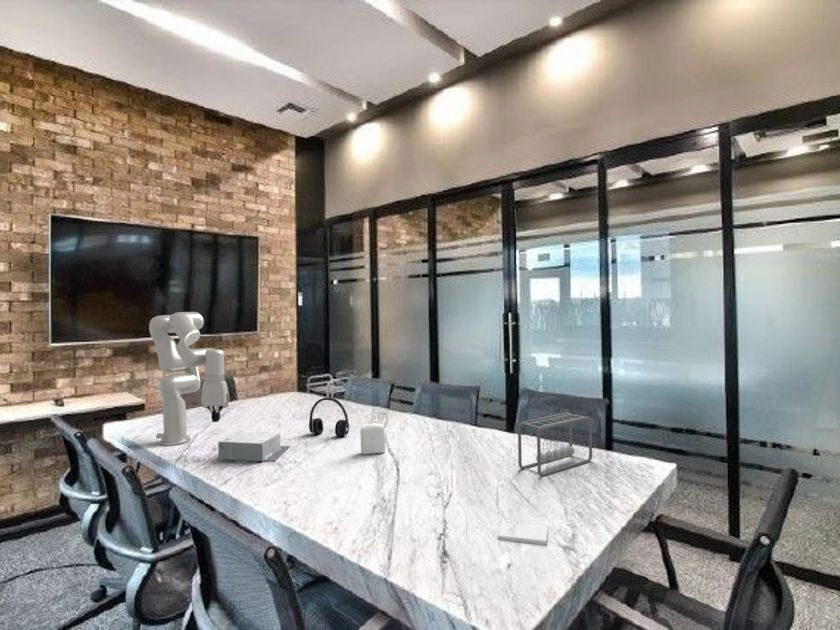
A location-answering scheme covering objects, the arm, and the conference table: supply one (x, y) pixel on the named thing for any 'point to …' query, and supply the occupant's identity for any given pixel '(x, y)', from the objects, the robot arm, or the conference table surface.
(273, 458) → the rubber mat
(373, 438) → the photo printer
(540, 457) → the newton's cradle
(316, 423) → the headphones
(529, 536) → the external hard drive
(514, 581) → the conference table surface
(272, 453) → the hard drive box
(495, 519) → the conference table surface
